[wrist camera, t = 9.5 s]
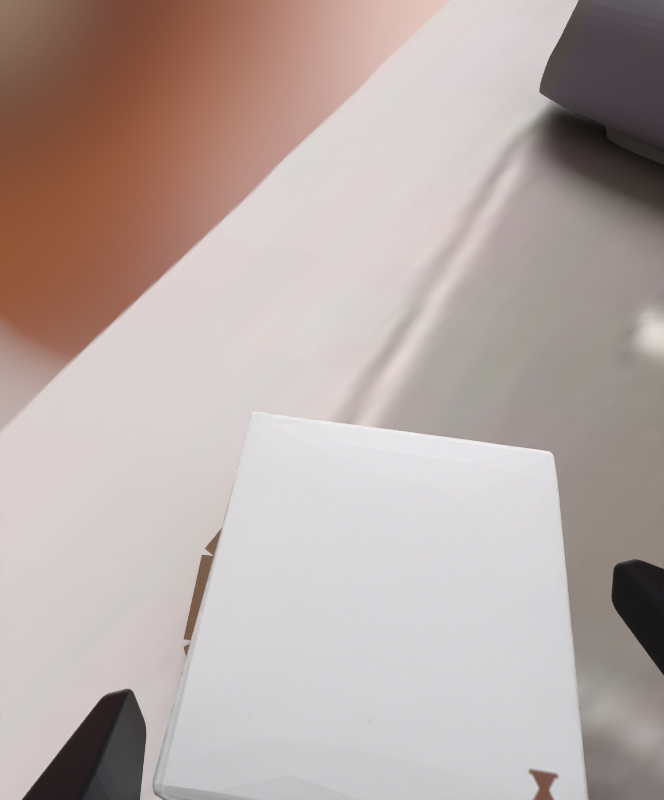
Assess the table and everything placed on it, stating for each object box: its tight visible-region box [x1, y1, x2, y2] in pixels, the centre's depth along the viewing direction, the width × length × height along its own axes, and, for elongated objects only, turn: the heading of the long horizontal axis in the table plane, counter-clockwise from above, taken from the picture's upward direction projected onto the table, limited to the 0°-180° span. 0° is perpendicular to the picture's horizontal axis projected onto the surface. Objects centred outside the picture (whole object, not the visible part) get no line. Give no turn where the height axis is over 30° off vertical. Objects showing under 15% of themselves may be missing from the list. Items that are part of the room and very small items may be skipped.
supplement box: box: [153, 412, 589, 800], centre depth 14 cm, size 7×7×13 cm
